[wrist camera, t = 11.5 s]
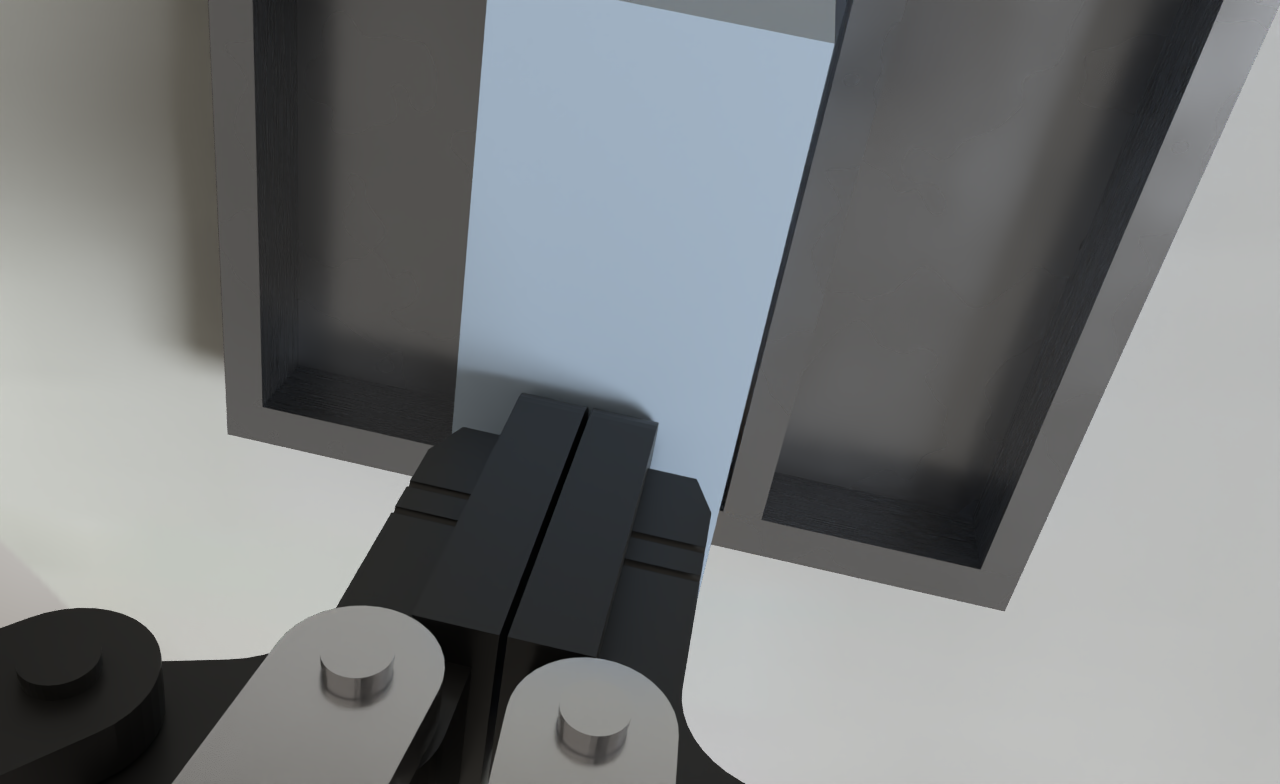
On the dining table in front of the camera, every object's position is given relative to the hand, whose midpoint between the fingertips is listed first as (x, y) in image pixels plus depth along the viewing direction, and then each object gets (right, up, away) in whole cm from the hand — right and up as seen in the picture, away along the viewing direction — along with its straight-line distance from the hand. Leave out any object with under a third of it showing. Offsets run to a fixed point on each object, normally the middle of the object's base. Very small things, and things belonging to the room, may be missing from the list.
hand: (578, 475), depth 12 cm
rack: (+1, +4, +7) cm, 9 cm away
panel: (+1, +4, +7) cm, 8 cm away
